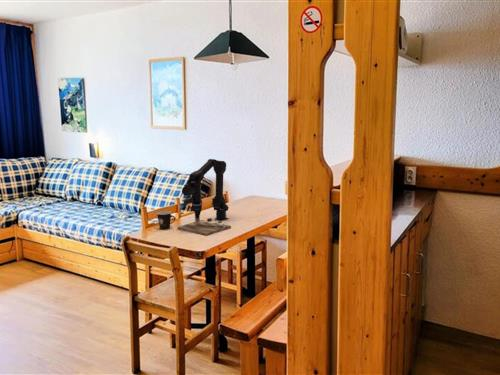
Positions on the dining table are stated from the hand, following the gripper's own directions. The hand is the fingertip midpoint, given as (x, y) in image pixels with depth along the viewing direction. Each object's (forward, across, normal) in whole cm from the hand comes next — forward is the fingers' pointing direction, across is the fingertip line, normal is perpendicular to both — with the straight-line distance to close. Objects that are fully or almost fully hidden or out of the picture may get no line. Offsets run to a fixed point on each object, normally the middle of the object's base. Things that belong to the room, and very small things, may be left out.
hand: (197, 217), depth 278 cm
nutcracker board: (+6, +4, +4) cm, 8 cm away
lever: (+4, +4, +7) cm, 9 cm away
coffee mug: (+7, 0, -20) cm, 21 cm away
